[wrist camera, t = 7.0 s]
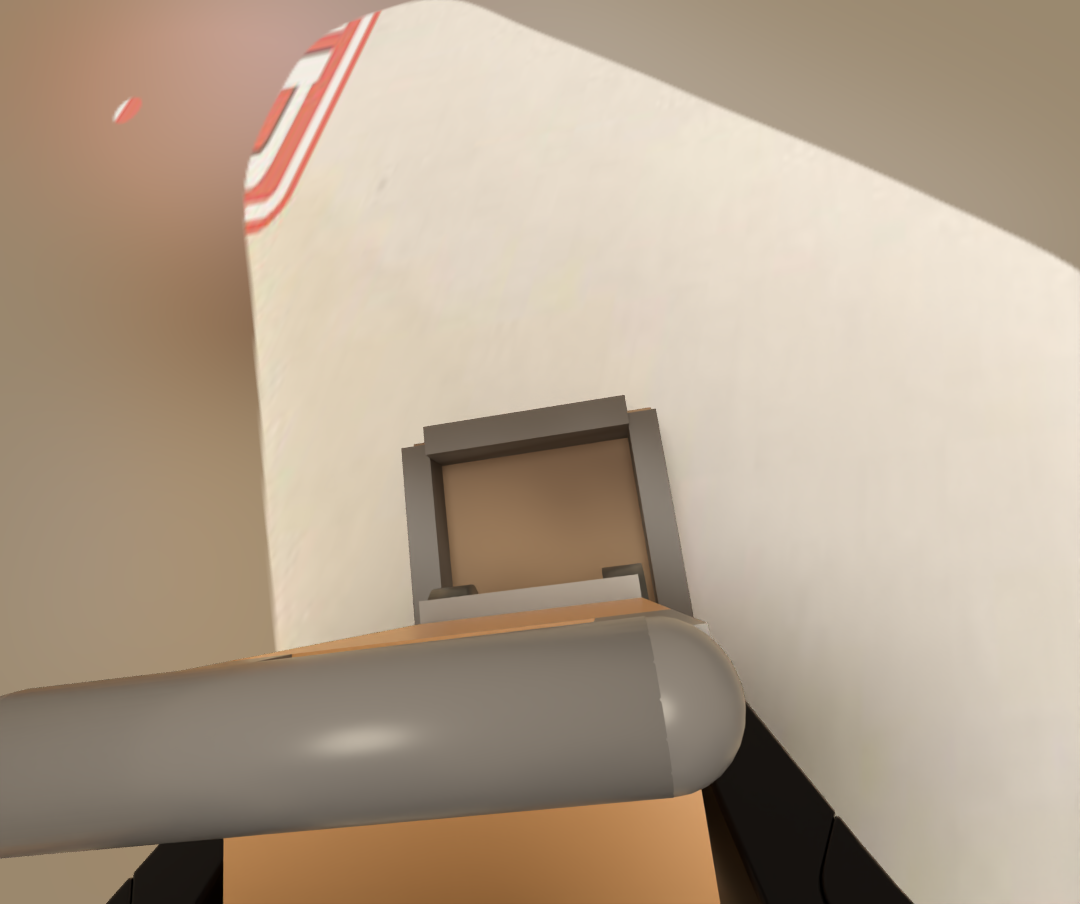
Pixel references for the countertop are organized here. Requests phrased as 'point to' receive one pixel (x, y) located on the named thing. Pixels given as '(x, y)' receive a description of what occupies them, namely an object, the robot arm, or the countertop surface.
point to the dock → (543, 502)
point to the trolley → (407, 756)
